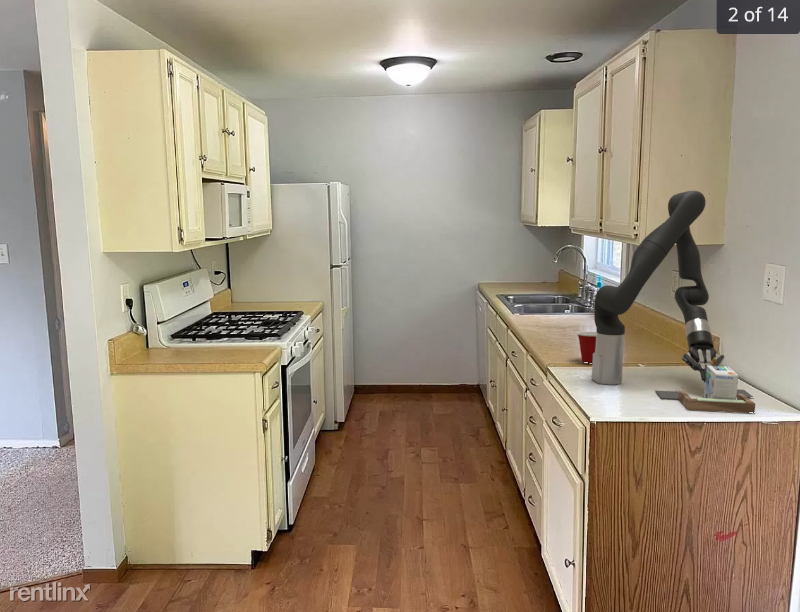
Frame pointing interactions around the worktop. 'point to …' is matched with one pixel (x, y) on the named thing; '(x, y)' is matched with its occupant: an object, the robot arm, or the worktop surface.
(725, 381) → the light bulb box
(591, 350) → the plastic cup
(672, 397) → the pads
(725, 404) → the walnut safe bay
